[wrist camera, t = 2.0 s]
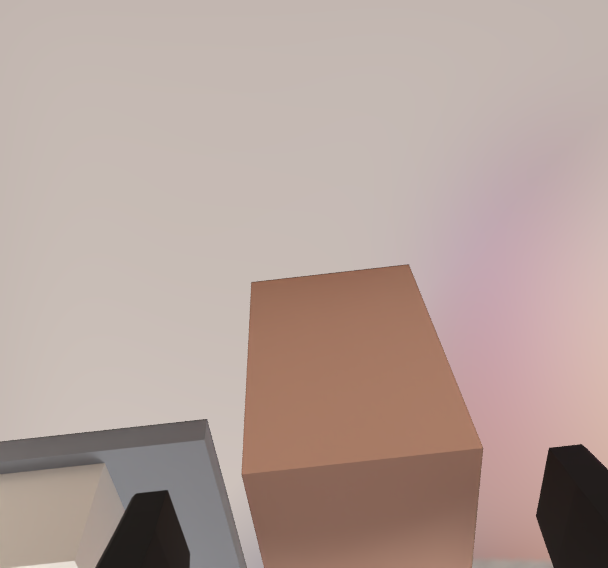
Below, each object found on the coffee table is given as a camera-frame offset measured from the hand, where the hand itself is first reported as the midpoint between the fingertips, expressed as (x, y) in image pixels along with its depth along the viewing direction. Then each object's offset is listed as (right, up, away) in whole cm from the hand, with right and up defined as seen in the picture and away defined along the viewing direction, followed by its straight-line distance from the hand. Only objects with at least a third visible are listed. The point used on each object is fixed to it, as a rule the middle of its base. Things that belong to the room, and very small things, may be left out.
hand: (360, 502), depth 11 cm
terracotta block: (0, +3, +5) cm, 5 cm away
